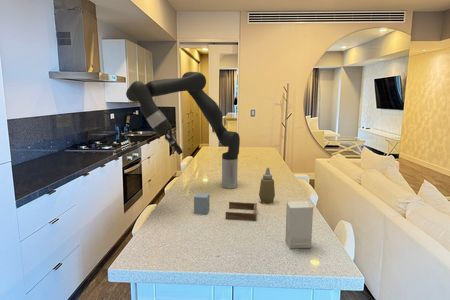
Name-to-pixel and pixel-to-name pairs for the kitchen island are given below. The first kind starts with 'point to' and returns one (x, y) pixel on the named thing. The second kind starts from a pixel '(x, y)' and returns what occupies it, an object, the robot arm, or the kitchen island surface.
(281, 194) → the kitchen island surface
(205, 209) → the slate block
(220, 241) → the kitchen island surface
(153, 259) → the kitchen island surface
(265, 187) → the squeeze bottle
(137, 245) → the kitchen island surface
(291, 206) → the skincare box
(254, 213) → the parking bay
